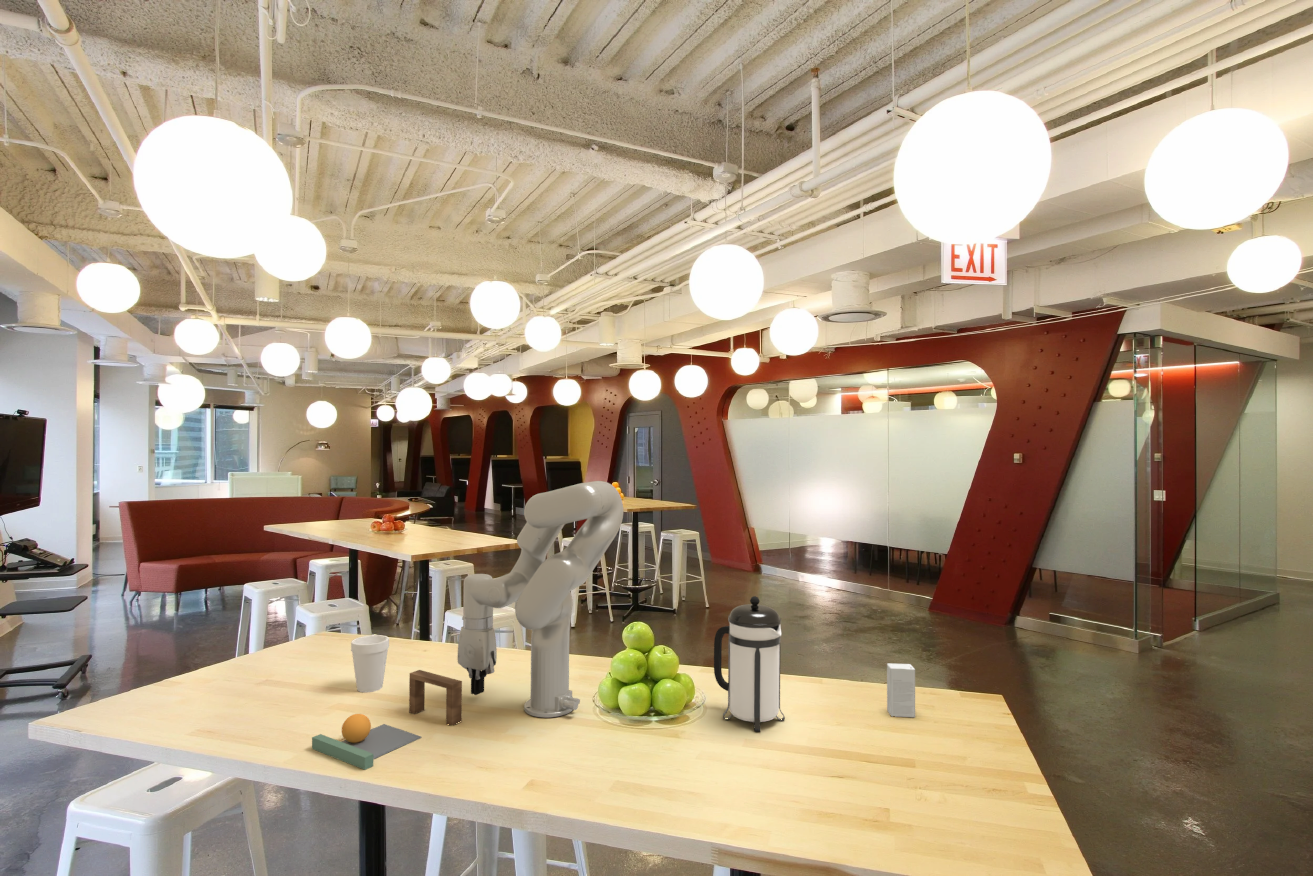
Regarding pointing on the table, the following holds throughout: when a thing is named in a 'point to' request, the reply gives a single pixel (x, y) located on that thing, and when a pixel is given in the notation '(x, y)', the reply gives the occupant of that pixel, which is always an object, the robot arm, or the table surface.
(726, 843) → the table surface
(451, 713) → the bridge
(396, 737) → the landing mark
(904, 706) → the skincare box
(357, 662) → the foam cup
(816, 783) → the table surface
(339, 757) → the stopper wall
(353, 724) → the ball
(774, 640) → the coffee press
